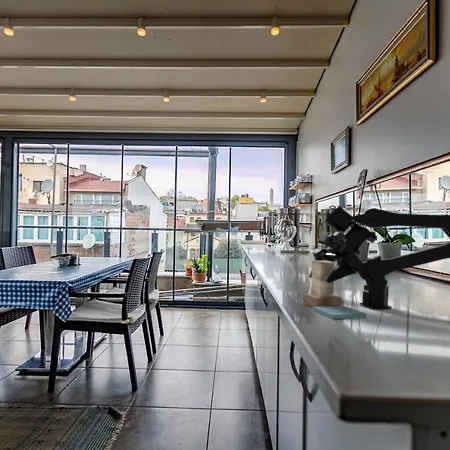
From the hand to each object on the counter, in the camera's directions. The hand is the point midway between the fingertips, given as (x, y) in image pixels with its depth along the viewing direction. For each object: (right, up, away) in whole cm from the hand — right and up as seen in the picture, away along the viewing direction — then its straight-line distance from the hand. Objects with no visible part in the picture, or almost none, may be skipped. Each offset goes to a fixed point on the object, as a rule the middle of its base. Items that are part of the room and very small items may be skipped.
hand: (318, 279), depth 101 cm
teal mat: (+3, -8, -9) cm, 12 cm away
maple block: (+1, -5, 0) cm, 5 cm away
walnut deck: (+1, -8, 0) cm, 8 cm away
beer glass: (+5, -8, +19) cm, 21 cm away
